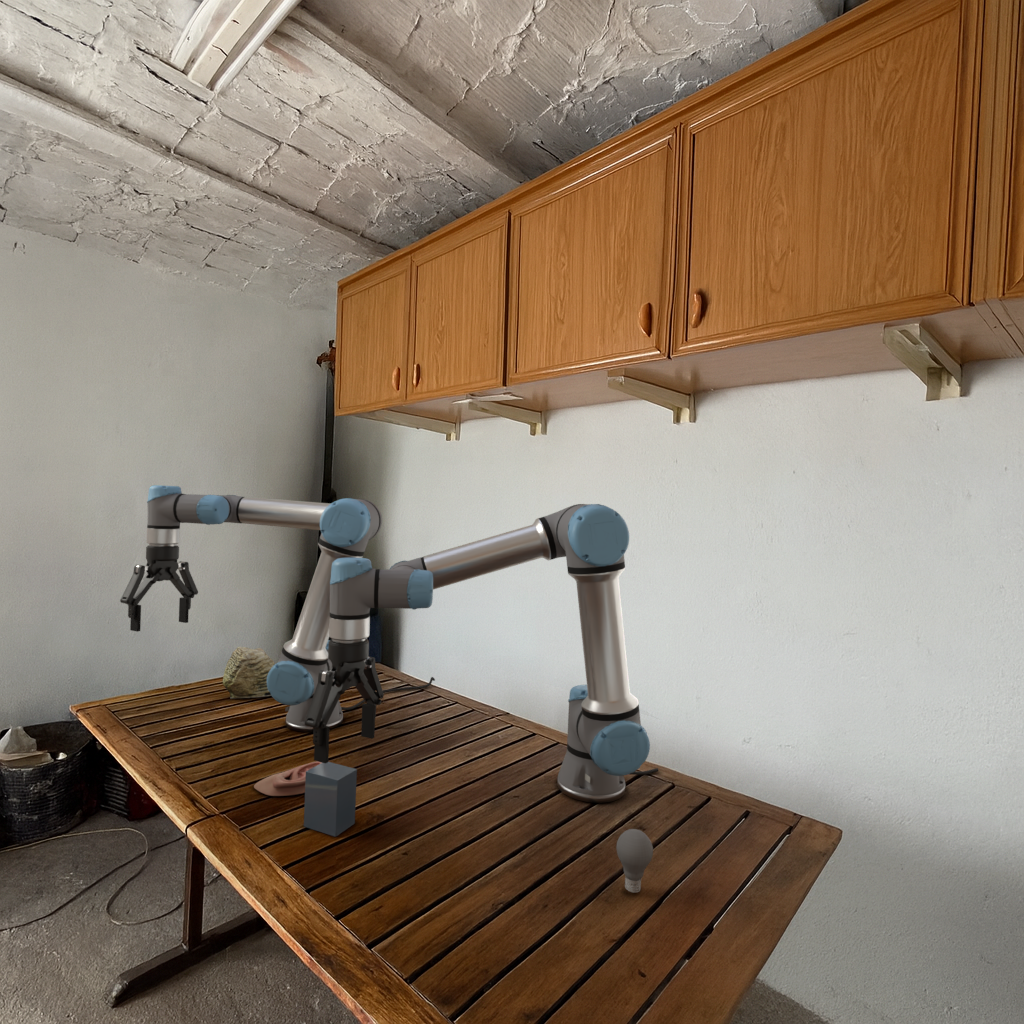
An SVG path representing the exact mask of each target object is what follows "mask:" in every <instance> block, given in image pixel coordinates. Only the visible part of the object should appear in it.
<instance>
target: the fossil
mask: <svg viewBox="0 0 1024 1024" xmlns="http://www.w3.org/2000/svg"><path fill="white" fill-rule="evenodd" d="M275 664H276V663H275V662H274V660H273V659H272V658H271V657H270V656H269V655H268V654H267V653H266V652H265V650H264V649H263V648H260V647H258V648H251V647H247V646H246V647H245V646H238V647H237V648H236V649H235V650H233V651H232V653H231V656H230V657H229V659H228V660H227V663H226V666H225V668H224V671H223V675H222V676H223V677H222V685H223V687H224V688H225V690H226V691H228V693H229V698H230V699H250V698H264V697H272V696H271V694H270V692H269V691H268V688H267V676H268V673H269V671H270V670H271V668H272V667H273V666H274V665H275Z"/></svg>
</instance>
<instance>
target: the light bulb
mask: <svg viewBox="0 0 1024 1024" xmlns="http://www.w3.org/2000/svg"><path fill="white" fill-rule="evenodd" d="M615 849H616V854H617V857H618V859H619V861H620V863H621V865H622V867H623V873H624V874H623V875H624V876H625V878H624V888H625V890H627V891H628V892H630V893H634V894H635V893H639V892H640V891H641V889H642V887H641V886H642V879H643V877H644V875H645V871H646V868H647V867H648V866H649V864H650V863H651V861H652V859H653V855H654V847H653V843H652V841H651V838H649V836H648V835H647V834H646V833H645V832H643V831H642V830H641V829H636V828H629V829H627V830H625V831H623V832H622V833H621V834H620V835H619V837H618V839H617V841H616V847H615Z"/></svg>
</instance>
